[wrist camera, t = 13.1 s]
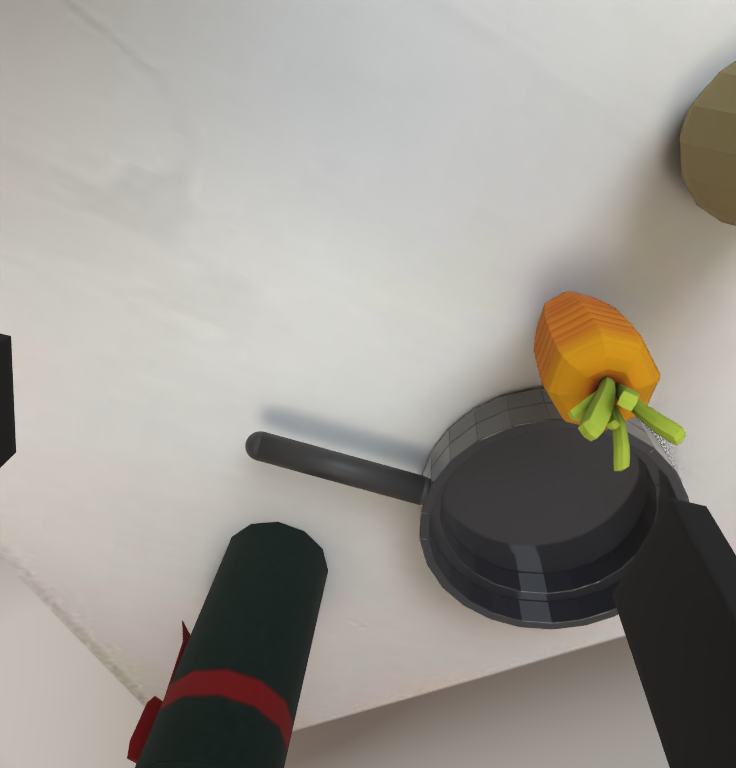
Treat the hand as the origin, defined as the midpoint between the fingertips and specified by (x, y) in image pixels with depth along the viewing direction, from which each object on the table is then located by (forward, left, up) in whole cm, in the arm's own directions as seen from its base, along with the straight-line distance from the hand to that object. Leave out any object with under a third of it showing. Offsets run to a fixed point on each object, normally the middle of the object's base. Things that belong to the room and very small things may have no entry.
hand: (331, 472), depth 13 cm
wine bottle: (+28, -2, -26) cm, 38 cm away
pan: (+15, +15, -26) cm, 33 cm away
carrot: (+2, +11, -26) cm, 28 cm away
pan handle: (+15, +1, -23) cm, 28 cm away
